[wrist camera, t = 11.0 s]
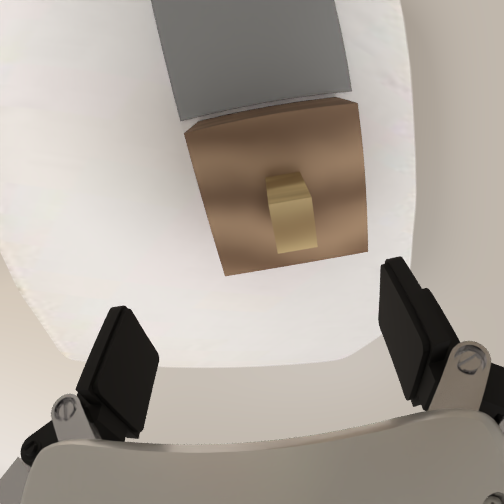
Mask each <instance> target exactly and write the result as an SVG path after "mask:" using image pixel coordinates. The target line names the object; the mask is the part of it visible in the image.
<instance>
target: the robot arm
mask: <svg viewBox="0 0 504 504" xmlns="http://www.w3.org/2000/svg"><path fill="white" fill-rule="evenodd" d="M378 320H379V326H380V329H381V332H382V334H383V337H384V339H385V342H386V345H387V347H388V350H389V353H390V355H391V358H392V361H393V364H394V367H395V369H396V372H397V375H398V378H399V381H400V383H401V387H402V390H403V393H404V396H405V398H406V400H411V402H412V404H413V407H415V406H418V405H422V408H423V410H425V412H420V413H415V414H410V415H407V416H402V417H397V418H393V419H390V420H385V421H381V422H377V423H373V424H368V425H364V426H360V427H354V428H349V429H344V430H339V431H333V432H328V433H322V434H317V435H310V436H303V437H296V438H289V439H279V440H270V441H261V442H247V443H232V444H201V445H200V444H199V445H198V444H197V445H185V444H183V445H181V444H180V445H179V444H149V443H135V442H125V437H127V438H135V439H138V438H139V434H140V432H141V431H142V430H143V428H144V424H145V419H146V415H147V410H148V405H149V401H150V397H151V393H152V388H153V384H154V380H155V376H156V371H157V367H158V363H159V355H158V353H157V351H156V349H155V348H154V346H153V345H152V343H151V341H150V340H149V338H148V337H147V335H146V333H145V332H144V330H143V329H142V327H141V325H140V324H139V322H138V320H137V319H136V317H135V315H134V314H133V312H132V310H131V309H128V308H127V307H126V306H118V307H112V308H111V309H110V310H109V312H108V314H107V317H106V319H105V321H104V323H103V325H102V327H101V330H100V332H99V334H98V336H97V339H96V341H95V343H94V346H93V348H92V350H91V353H90V355H89V357H88V360H87V362H86V364H85V367H84V369H83V372H82V374H81V377H80V379H79V382H78V384H77V387H76V391H77V392H78V394H77V396H76V395H74V394H66V395H64V396H61V397H60V398H59V399H58V400H57V401H56V402H55V404H54V405H53V407H52V412H51V417H52V420H51V421H50V422H49V423H47V424H46V425H45V426H43V427H42V428H40V429H39V430H38V431H36V432H35V433H34V434H32V435H31V436H30V437H28V438H27V439H26V440H25V441H24V443H23V445H22V448H21V458H19V457H18V458H17V459H16V460H15V461H14V463H13V464H12V465H11V466H10V468H9V469H8V470H7V472H6V473H5V474H4V475H3V477H2V478H1V479H0V504H504V367H501V366H499V365H496V364H493V363H491V357H490V354H489V352H488V351H487V349H486V348H485V347H484V346H482V345H481V344H479V343H477V342H473V341H464V342H461V343H460V341H459V339H458V337H457V335H456V334H455V332H454V330H453V328H452V326H451V325H450V323H449V321H448V319H447V318H446V316H445V314H444V313H443V311H442V309H441V308H440V306H439V304H438V303H437V301H436V299H435V298H434V296H433V294H432V293H431V292H430V290H429V289H428V288H425V289H422V288H421V286H420V285H419V284H418V281H417V280H416V278H415V277H414V275H413V274H412V272H411V270H410V269H409V267H408V266H407V264H406V263H405V261H404V259H403V258H402V257H395V258H390V259H386V261H385V264H382V265H381V270H380V299H379V316H378ZM487 497H488V498H487Z"/></svg>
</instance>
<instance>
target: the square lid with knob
mask: <svg viewBox="0 0 504 504" xmlns="http://www.w3.org/2000/svg"><path fill="white" fill-rule="evenodd" d="M184 135H185V139H186V143H187V146H188V150H189V154H190V157H191V161H192V164H193V168H194V172H195V175H196V179H197V182H198V186H199V189H200V193H201V196H202V200H203V203H204V207H205V210H206V214H207V217H208V221H209V224H210V227H211V231H212V234H213V238H214V241H215V244H216V248H217V251H218V254H219V258H220V261H221V264H222V267H223V271H224V274H225V276H229V275H236V274H242V273H248V272H254V271H260V270H266V269H272V268H278V267H284V266H289V265H295V264H301V263H307V262H313V261H318V260H324V259H330V258H335V257H341V256H346V255H352V254H358V253H363V252H368V230H367V202H366V184H365V170H364V157H363V146H362V136H361V127H360V119H359V111H358V103H355V102H352V101H348V100H345V99H341V98H337V97H332V98H324V99H315V100H308V101H300V102H293V103H287V104H281V105H275V106H269V107H263V108H258V109H252V110H247V111H242V112H237V113H233V114H228V115H223V116H219V117H215V118H210V119H206V120H202V121H198V122H197V123H196V124H195V125H193V126H192V127H191V128H190V129H189V130H187V131H186V132H185V133H184Z"/></svg>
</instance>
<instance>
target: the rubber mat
mask: <svg viewBox="0 0 504 504" xmlns="http://www.w3.org/2000/svg"><path fill="white" fill-rule="evenodd" d="M151 2H152V7H153V11H154V16H155V20H156V24H157V29H158V33H159V37H160V41H161V46H162V50H163V54H164V58H165V62H166V66H167V70H168V74H169V78H170V82H171V86H172V90H173V94H174V98H175V102H176V106H177V110H178V113H179V117H180V121H184V120H188V119H191V118H195V117H199V116H203V115H208V114H212V113H216V112H220V111H225V110H229V109H234V108H239V107H244V106H249V105H254V104H259V103H265V102H271V101H277V100H283V99H289V98H296V97H303V96H311V95H319V94H328V93H337V92H348V91H352V89H351V82H350V76H349V70H348V64H347V59H346V53H345V48H344V43H343V38H342V33H341V28H340V24H339V19H338V15H337V11H336V7H335V2H334V0H151Z"/></svg>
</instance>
